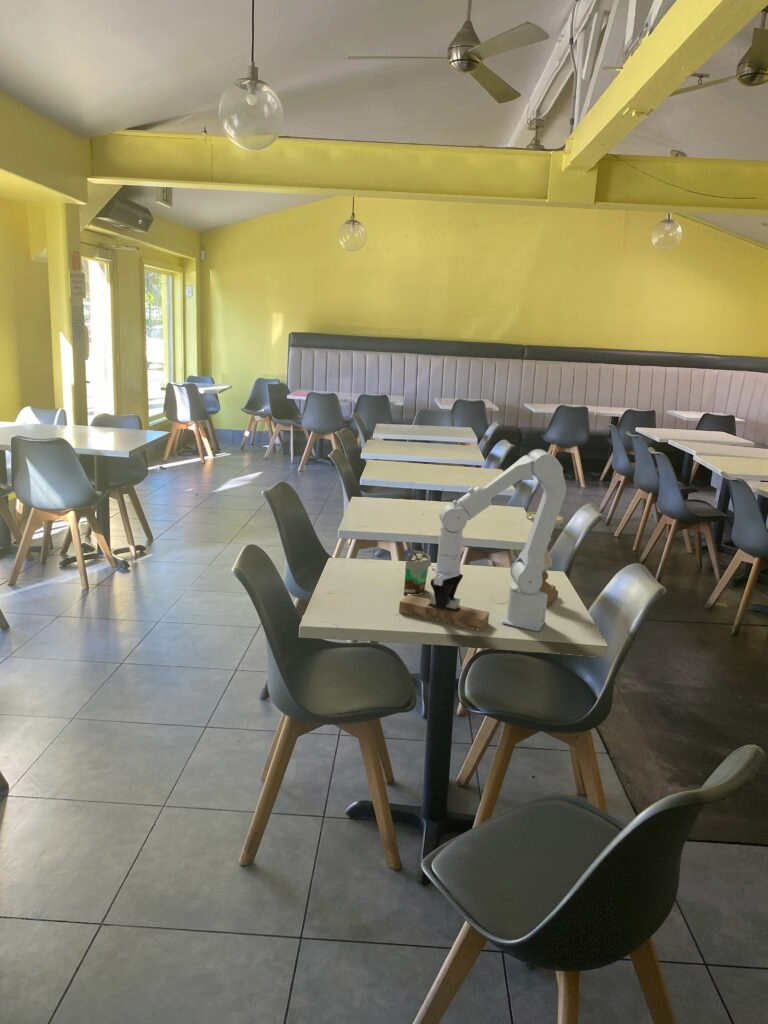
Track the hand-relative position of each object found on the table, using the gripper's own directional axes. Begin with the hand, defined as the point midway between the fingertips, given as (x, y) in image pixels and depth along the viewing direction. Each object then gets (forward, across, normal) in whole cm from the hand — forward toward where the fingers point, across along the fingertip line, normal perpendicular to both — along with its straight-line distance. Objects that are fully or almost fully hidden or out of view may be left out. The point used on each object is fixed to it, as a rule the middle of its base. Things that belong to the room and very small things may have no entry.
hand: (444, 604), depth 184 cm
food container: (+4, -16, -13) cm, 21 cm away
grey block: (+4, 0, 0) cm, 4 cm away
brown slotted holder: (+4, 0, 0) cm, 4 cm away
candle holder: (+4, -30, +17) cm, 34 cm away
